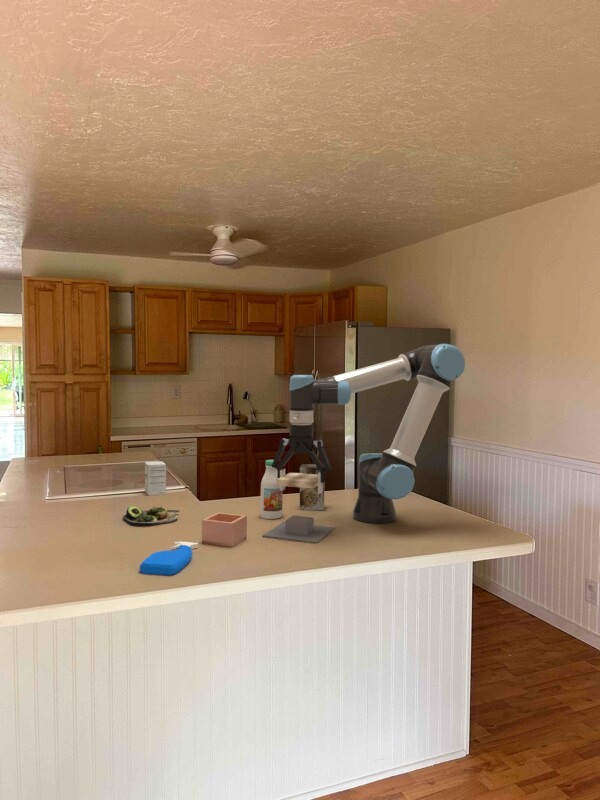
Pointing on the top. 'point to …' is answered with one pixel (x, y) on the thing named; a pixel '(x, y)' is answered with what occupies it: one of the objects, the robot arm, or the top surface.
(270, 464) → the milk bottle
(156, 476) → the supplement box
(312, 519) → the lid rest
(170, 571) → the spray bottle
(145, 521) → the salad plate
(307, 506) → the coffee box
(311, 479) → the lid
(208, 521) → the open box
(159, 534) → the top surface
